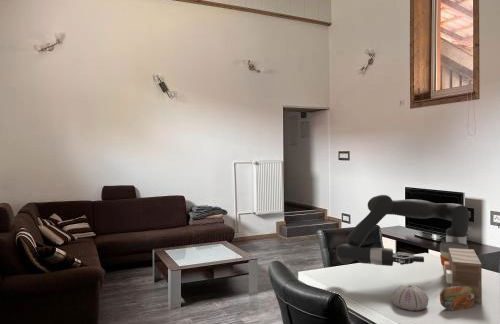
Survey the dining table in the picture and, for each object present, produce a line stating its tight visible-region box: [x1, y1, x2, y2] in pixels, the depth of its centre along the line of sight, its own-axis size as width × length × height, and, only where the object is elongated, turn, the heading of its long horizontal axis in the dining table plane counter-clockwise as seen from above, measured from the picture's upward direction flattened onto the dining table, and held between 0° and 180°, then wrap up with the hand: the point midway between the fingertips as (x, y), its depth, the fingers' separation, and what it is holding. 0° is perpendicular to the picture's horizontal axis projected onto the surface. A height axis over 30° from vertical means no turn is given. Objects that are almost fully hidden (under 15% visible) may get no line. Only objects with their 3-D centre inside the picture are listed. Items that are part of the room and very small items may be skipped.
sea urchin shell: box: [391, 284, 430, 312], centre depth 153 cm, size 13×14×8 cm
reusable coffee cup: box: [439, 241, 469, 277], centre depth 189 cm, size 13×13×15 cm
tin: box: [439, 285, 476, 312], centre depth 150 cm, size 15×3×8 cm, turn 105°
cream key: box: [445, 270, 452, 284], centre depth 162 cm, size 5×7×4 cm
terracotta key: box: [444, 261, 450, 273], centre depth 175 cm, size 5×7×4 cm
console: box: [448, 248, 483, 305], centre depth 166 cm, size 24×10×16 cm, turn 157°
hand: (423, 259), depth 167 cm, fingers closed
